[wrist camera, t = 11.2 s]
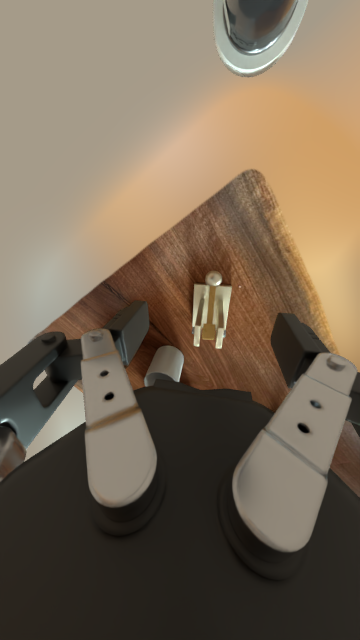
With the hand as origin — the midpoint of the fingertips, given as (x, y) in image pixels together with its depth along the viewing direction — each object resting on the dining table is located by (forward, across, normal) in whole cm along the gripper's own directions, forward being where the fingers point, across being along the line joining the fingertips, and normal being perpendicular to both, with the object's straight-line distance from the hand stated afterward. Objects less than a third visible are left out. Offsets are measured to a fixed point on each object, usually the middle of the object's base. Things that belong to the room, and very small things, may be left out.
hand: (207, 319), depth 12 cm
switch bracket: (+30, 0, +13) cm, 33 cm away
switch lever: (+23, 0, +10) cm, 25 cm away
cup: (+30, +10, +31) cm, 44 cm away
